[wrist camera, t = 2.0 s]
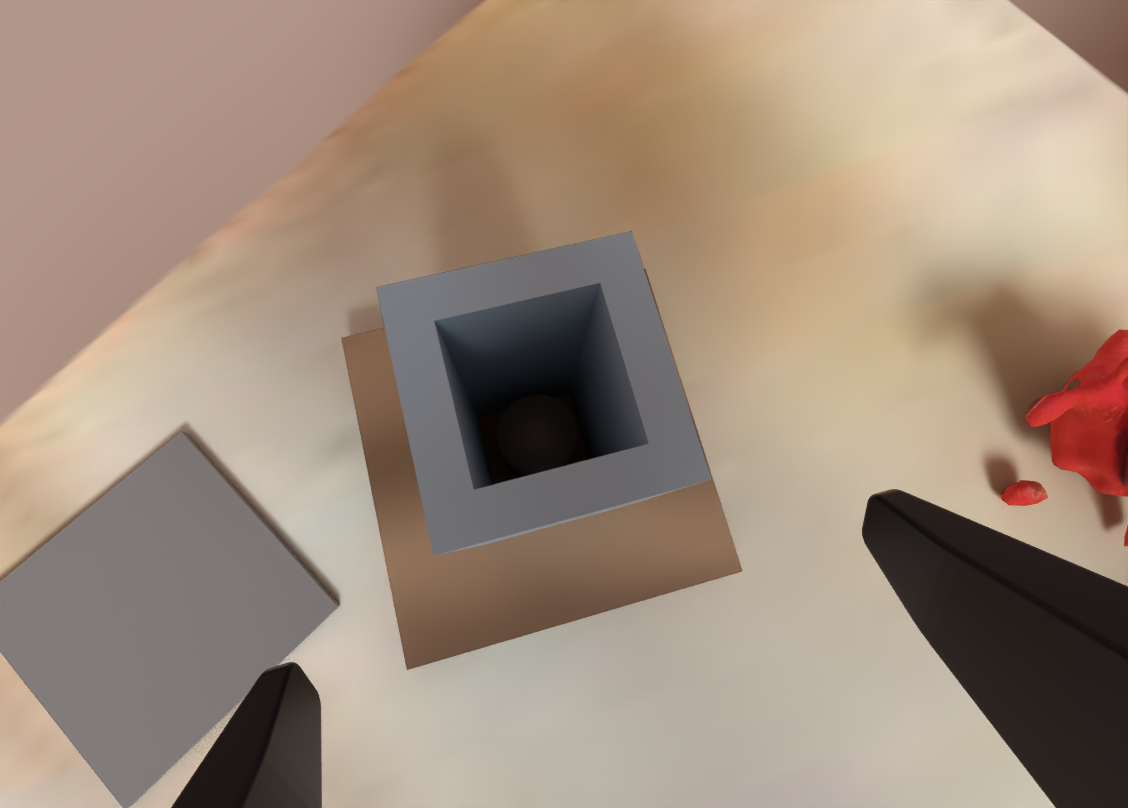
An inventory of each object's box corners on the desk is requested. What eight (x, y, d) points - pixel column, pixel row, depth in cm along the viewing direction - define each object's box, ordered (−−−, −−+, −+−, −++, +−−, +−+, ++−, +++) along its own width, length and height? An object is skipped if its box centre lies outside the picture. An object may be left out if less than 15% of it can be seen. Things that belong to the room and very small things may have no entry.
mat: (131, 805, 17) (124, 810, 17) (-25, 608, 18) (-34, 608, 18) (340, 605, 19) (337, 605, 18) (186, 433, 20) (180, 431, 19)
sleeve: (628, 505, 19) (711, 479, 10) (480, 545, 18) (433, 555, 10) (588, 364, 20) (631, 231, 11) (446, 398, 19) (375, 287, 11)
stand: (731, 569, 20) (789, 579, 15) (413, 662, 18) (376, 702, 14) (640, 280, 22) (666, 216, 17) (350, 347, 21) (301, 296, 16)
